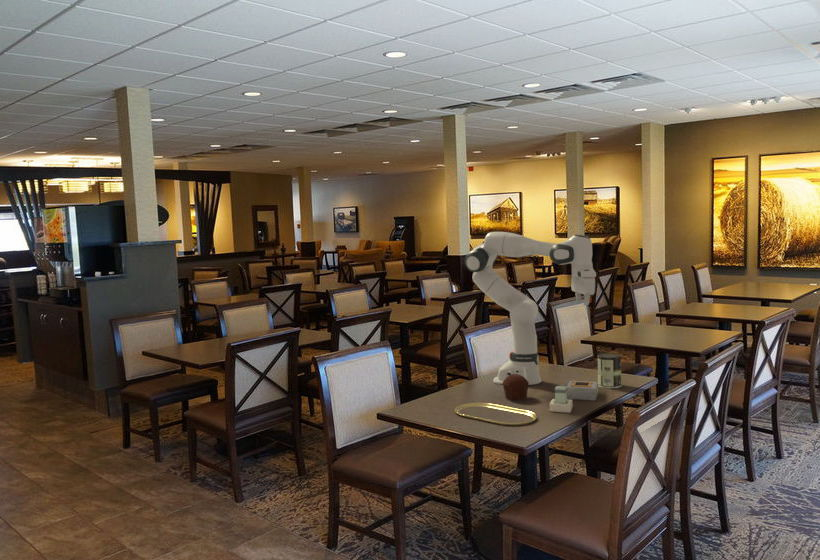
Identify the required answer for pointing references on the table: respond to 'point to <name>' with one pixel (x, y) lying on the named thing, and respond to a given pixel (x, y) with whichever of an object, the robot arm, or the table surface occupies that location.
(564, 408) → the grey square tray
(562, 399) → the plug
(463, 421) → the table surface
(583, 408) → the table surface
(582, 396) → the port
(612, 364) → the coffee can
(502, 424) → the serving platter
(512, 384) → the muffin
